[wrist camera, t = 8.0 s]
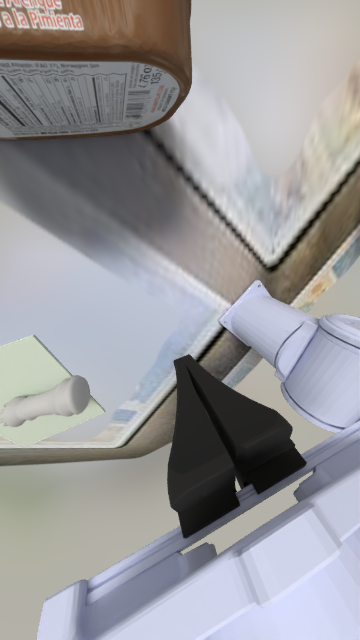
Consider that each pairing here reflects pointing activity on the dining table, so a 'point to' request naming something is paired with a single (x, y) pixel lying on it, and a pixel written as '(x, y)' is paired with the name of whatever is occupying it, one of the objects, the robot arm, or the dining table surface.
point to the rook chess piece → (48, 402)
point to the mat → (35, 389)
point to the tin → (91, 66)
